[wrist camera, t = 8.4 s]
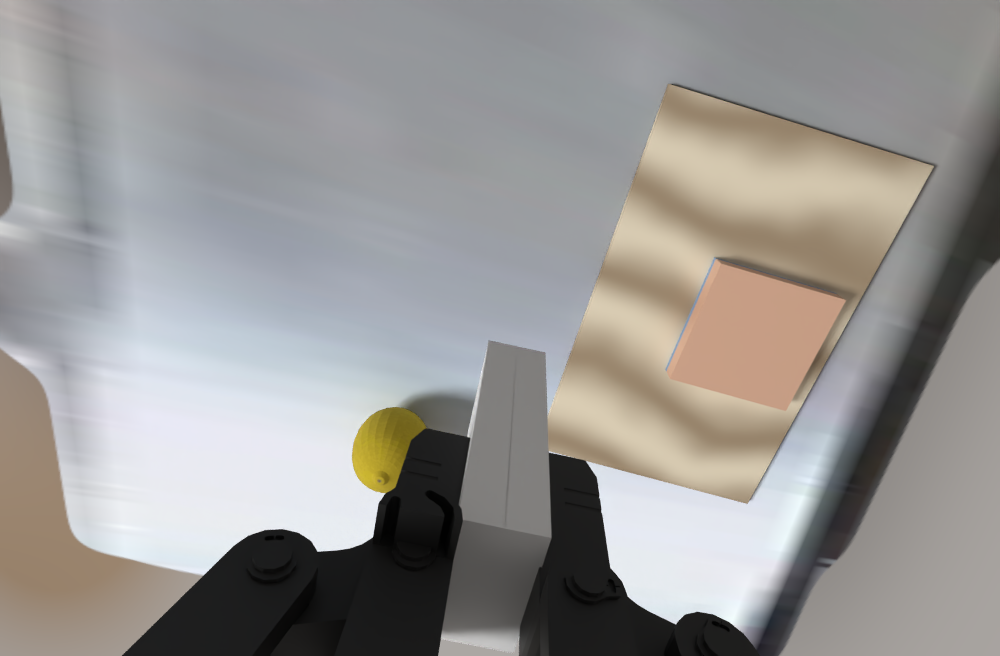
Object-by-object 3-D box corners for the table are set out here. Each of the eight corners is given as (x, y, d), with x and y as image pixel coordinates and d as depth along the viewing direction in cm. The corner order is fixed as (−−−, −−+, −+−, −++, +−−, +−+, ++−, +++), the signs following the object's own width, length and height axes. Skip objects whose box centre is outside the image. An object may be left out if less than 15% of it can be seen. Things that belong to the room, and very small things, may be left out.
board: (668, 83, 37) (669, 83, 37) (930, 165, 38) (933, 166, 38) (537, 445, 48) (537, 447, 47) (745, 500, 49) (747, 503, 48)
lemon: (444, 401, 47) (429, 460, 39) (426, 457, 49) (408, 523, 41) (377, 380, 46) (348, 436, 39) (361, 437, 48) (331, 501, 41)
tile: (721, 263, 39) (846, 300, 40) (714, 257, 41) (834, 292, 41) (670, 379, 43) (785, 411, 43) (665, 369, 44) (777, 400, 45)
